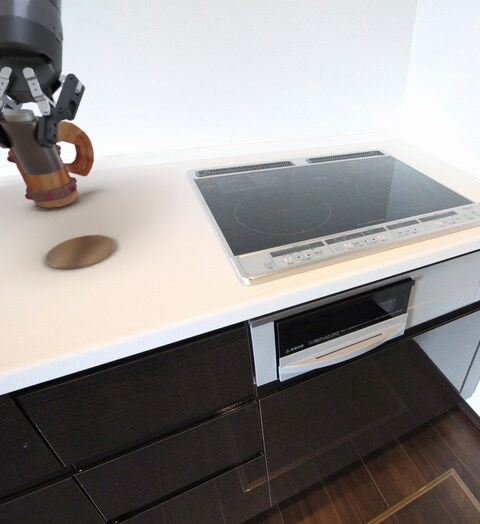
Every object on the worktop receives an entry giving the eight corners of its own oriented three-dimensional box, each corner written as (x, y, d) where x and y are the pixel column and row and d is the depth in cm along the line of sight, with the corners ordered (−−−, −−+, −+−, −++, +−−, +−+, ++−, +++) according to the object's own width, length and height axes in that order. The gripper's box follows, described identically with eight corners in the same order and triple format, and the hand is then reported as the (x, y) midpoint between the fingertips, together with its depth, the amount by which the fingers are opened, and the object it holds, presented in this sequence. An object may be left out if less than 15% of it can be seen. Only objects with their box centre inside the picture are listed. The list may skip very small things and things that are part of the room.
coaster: (47, 275, 56) (45, 272, 56) (48, 246, 63) (46, 243, 62) (117, 258, 61) (116, 256, 60) (111, 232, 67) (110, 230, 67)
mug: (42, 217, 70) (4, 139, 62) (22, 205, 74) (-17, 130, 65) (116, 192, 81) (92, 122, 72) (95, 183, 84) (70, 115, 75)
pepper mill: (23, 177, 51) (-7, 117, 46) (25, 166, 54) (-3, 109, 49) (63, 172, 53) (38, 114, 48) (63, 161, 56) (39, 106, 51)
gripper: (-54, 9, 47) (-64, 131, 44) (69, 15, 49) (66, 131, 47) (-8, 52, 54) (-15, 159, 52) (97, 55, 57) (96, 157, 54)
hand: (24, 145), depth 49 cm, fingers closed on pepper mill, 4 cm apart
